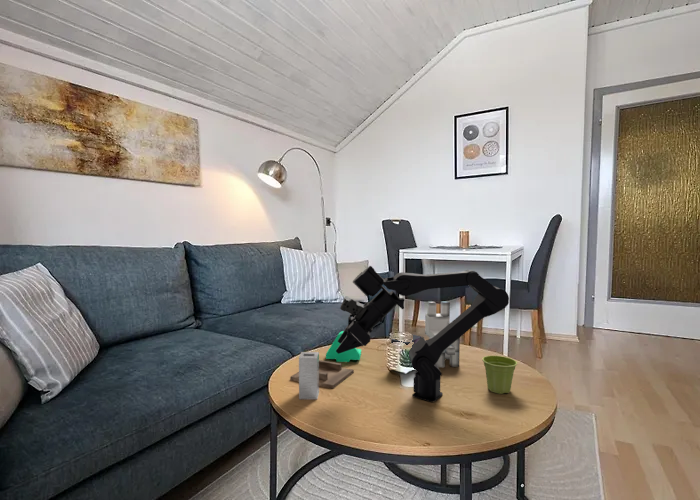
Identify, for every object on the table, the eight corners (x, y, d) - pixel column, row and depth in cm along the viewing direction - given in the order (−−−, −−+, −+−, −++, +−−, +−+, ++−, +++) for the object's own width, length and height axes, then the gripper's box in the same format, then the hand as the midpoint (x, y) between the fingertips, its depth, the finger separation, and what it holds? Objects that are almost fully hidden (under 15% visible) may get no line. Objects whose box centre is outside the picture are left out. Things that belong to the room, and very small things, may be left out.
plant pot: (485, 381, 118) (485, 353, 117) (518, 387, 113) (519, 358, 113) (478, 392, 110) (479, 362, 109) (514, 399, 105) (514, 368, 105)
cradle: (353, 372, 125) (353, 363, 125) (333, 388, 112) (333, 378, 112) (313, 365, 131) (313, 356, 131) (290, 379, 119) (290, 370, 119)
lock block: (319, 391, 110) (318, 351, 110) (317, 399, 105) (317, 357, 105) (301, 391, 110) (301, 351, 110) (299, 399, 105) (298, 357, 105)
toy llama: (440, 370, 127) (440, 310, 126) (424, 353, 145) (425, 300, 144) (462, 369, 128) (463, 309, 127) (444, 352, 145) (445, 300, 144)
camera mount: (361, 355, 142) (361, 328, 142) (359, 362, 134) (359, 333, 134) (329, 354, 143) (329, 327, 143) (325, 361, 136) (325, 332, 135)
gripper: (357, 282, 115) (320, 318, 116) (357, 293, 97) (313, 335, 97) (383, 309, 116) (346, 344, 116) (388, 324, 97) (344, 366, 98)
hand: (337, 347), depth 107 cm, fingers open, 9 cm apart
